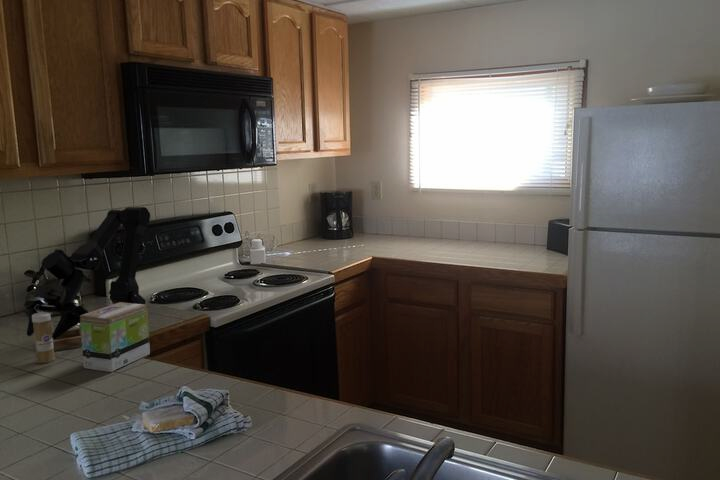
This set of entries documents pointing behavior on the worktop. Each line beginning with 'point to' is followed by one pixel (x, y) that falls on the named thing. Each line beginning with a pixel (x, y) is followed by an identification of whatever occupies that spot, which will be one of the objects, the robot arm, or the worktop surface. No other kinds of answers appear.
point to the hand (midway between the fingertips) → (40, 336)
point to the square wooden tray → (68, 340)
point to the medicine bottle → (257, 251)
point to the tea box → (114, 336)
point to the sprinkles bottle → (43, 337)
